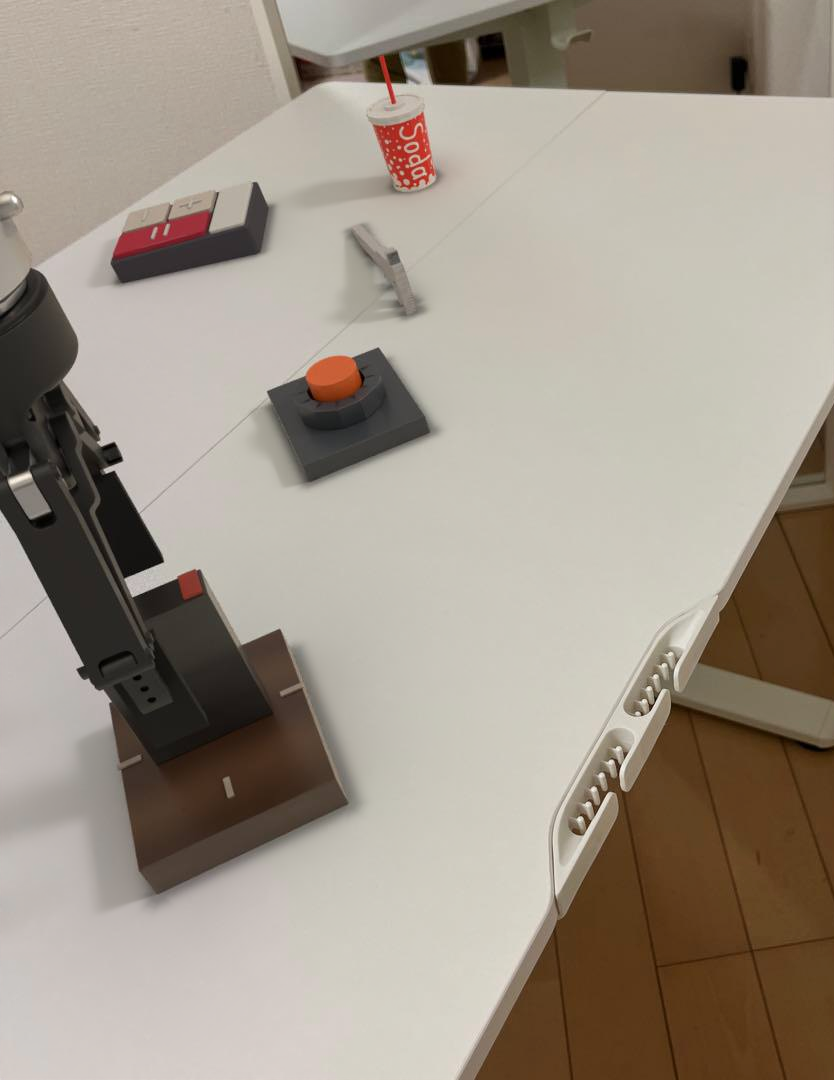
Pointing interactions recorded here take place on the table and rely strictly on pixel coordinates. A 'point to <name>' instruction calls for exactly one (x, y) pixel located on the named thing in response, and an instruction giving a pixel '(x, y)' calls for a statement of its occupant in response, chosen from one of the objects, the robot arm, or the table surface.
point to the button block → (348, 418)
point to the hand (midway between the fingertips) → (159, 643)
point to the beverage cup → (403, 137)
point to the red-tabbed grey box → (199, 662)
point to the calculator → (191, 232)
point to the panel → (230, 780)
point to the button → (333, 378)
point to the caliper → (388, 267)
